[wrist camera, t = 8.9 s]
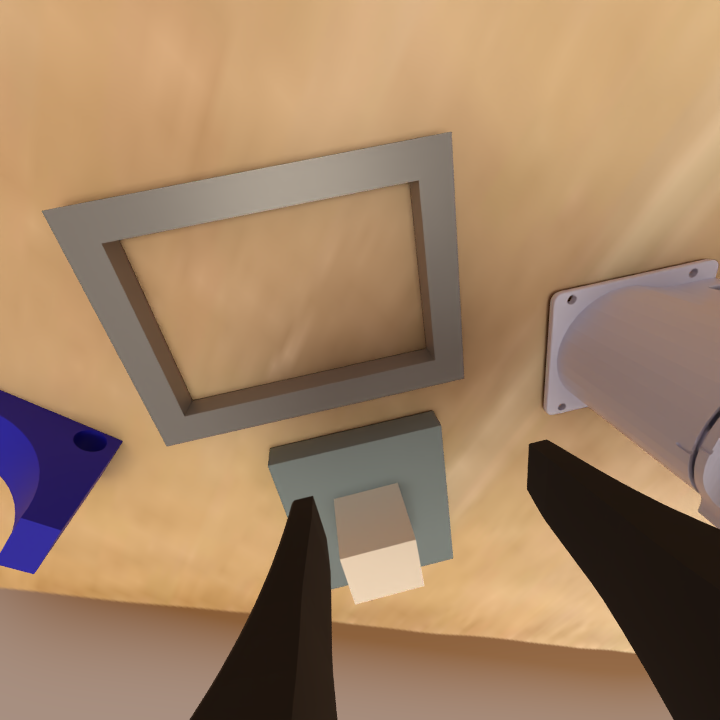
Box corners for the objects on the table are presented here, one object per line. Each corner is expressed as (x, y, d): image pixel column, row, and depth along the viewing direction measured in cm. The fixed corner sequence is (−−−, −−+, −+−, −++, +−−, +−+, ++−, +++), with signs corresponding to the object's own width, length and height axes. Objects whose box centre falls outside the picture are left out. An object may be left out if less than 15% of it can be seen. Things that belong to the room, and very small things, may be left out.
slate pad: (432, 410, 22) (441, 425, 21) (445, 540, 28) (453, 558, 26) (269, 448, 22) (267, 466, 20) (315, 572, 27) (316, 593, 26)
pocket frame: (439, 135, 16) (451, 131, 15) (453, 365, 21) (464, 378, 20) (64, 208, 15) (41, 210, 14) (175, 429, 20) (166, 446, 19)
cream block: (397, 482, 22) (415, 539, 19) (406, 526, 24) (424, 585, 21) (333, 499, 22) (339, 559, 19) (347, 542, 24) (355, 604, 21)
